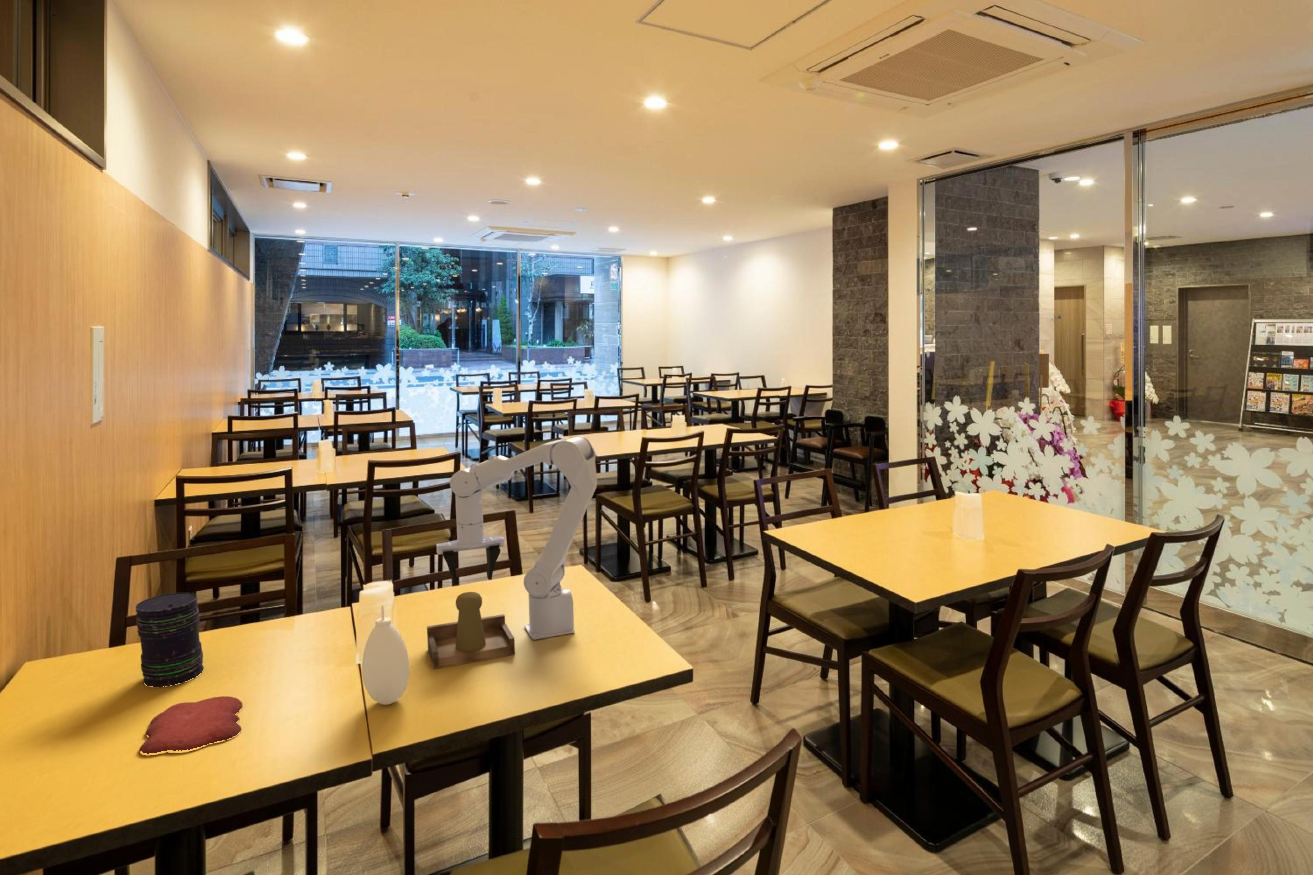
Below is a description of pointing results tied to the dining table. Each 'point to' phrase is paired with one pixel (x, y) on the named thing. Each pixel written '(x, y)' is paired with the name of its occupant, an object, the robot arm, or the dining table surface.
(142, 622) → the navy chip stack
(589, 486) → the robot arm
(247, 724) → the dining table surface
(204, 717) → the patty
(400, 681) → the white egg-shaped bulb
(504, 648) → the shelf
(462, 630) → the olive brown tapered cylinder
